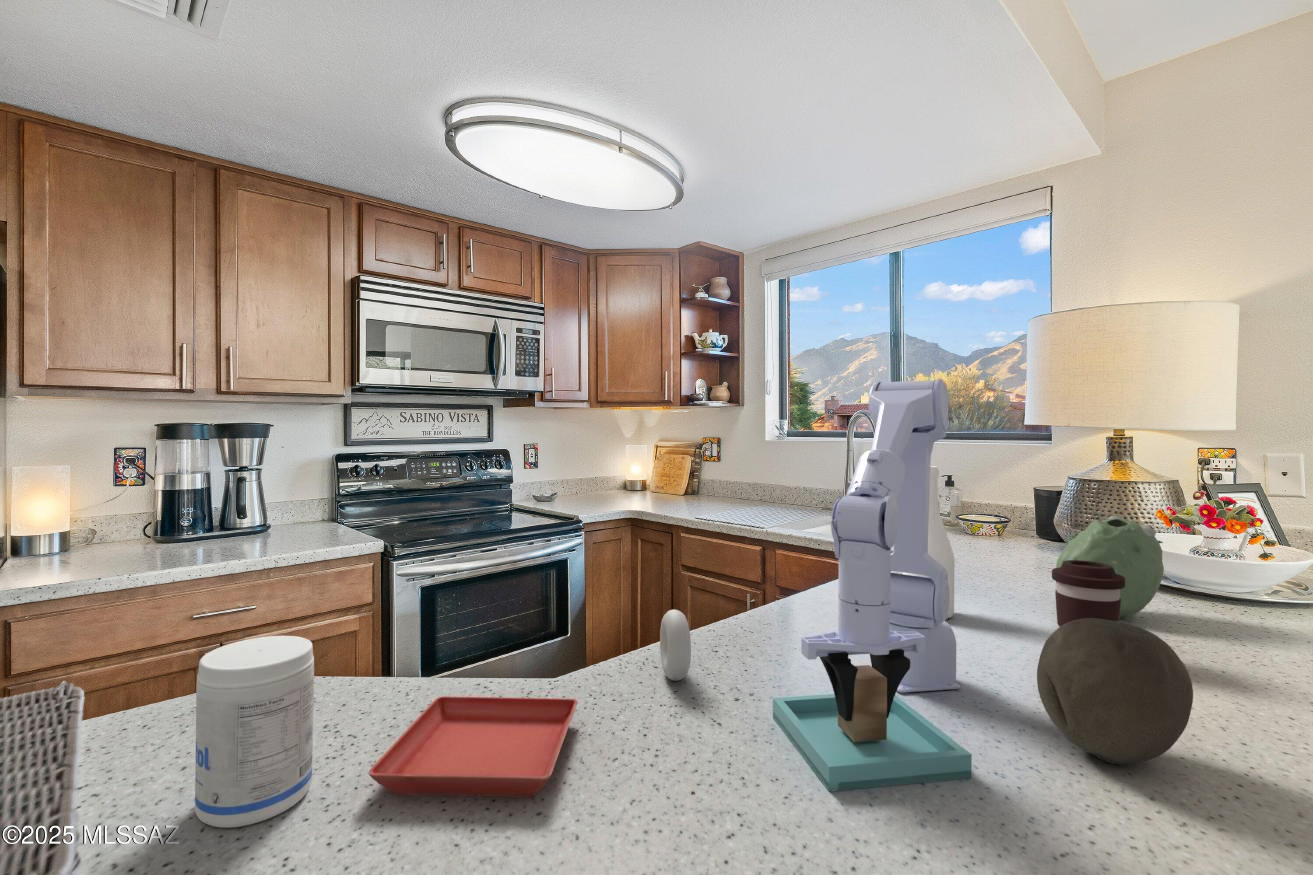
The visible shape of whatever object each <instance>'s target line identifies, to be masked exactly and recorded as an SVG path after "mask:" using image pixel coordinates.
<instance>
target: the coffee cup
mask: <svg viewBox="0 0 1313 875" xmlns="http://www.w3.org/2000/svg"><path fill="white" fill-rule="evenodd" d="M1051 579H1052V580H1054V581H1055V585H1056V589H1055V592H1054V593H1055V594H1054V595H1055V605H1056V606H1055V607H1056V622H1057V626H1058V628H1059V627H1060V626H1062V625H1064V624H1065V623H1068V622H1070V621H1073V620H1077V619H1083V618H1097V619H1105V620H1110V621H1120V618H1121V617H1120V606H1121V599H1120V589H1123V588H1124V587H1125V578H1124V577H1123V576H1121V575H1119V574H1116V573H1115V570H1114V568H1113V567H1112V566H1110V565H1108V564H1104V563H1099V562H1093V561H1084V560H1067V561H1064V562H1063V563H1062V565H1061V567H1059V568H1056V567H1055V568H1052V569H1051ZM1119 617H1120V618H1119Z"/></svg>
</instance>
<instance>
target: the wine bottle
mask: <svg viewBox="0 0 1313 875" xmlns="http://www.w3.org/2000/svg"><path fill="white" fill-rule="evenodd" d="M938 478H940V470H939V467H938V466H936V465H930V494H929V526H928V554H929V555H930V556H931V557H932V558H934V559H935V560H936V561H937V562H938V563H940V564H941V565H942V566H943V567H944V568H945V569H946V571H947V573H948V586H949V610H948V616H947V619H946V620H949V619H951V618H952V617H953V616H954V612H955V566H956V565H955V562H956V560H955V555H954V551H953V548H952V544H951V542H950V540H949V536H948V534H947V531H946V527H945V525H944V522H943V519H942V516H941V513H940V508H939V485H938V484H939V482H938ZM902 574H905V575H912V576H919V577H927V578H930V577H928V576H925V575H920V574H912V573H905V572H902ZM948 618H949V619H948Z"/></svg>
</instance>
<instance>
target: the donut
mask: <svg viewBox="0 0 1313 875" xmlns="http://www.w3.org/2000/svg"><path fill="white" fill-rule="evenodd" d="M688 622H689V621H688V619H687V618H686V615H685V613H683V612H682V611H680V610H678V609H674V608H673V609H670V610H668V611H666V613H665V614H664V615H663V617H662V618H661V623H660V630H659V650H660V661H661V666H662V670H663V673H664V674H665V676H666V677H667V678H668V679H669V680H671V681H673V682H674V681H675V682H677V681H678V682H679V681H681V680H682V679H685V677H686V676H687V675H688V674H689V670H690V667H691V662H692V660H691V657H692V641H691V631H690V627H689V623H688Z"/></svg>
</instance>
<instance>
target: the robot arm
mask: <svg viewBox="0 0 1313 875" xmlns="http://www.w3.org/2000/svg"><path fill="white" fill-rule="evenodd" d="M868 412H869V417H870V419H871V420H872V424H873V425H874V426H875V430H874V435H873V439H872V444H871V449H869V450H867V451H865V452H864V453H862V454H861V455H860V457H859V458H858V462H857V464H856V466H855V470H854V473H853V475H852V478H851V482H850V484H849V487H848V490H847V492H846V494H845V495H843V496H842V498H841V499H840V498H838V499H836V501H835V502H834V504H833V507H832V511H831V520H830V528H831V535H832V539H833V543H834V550H833V551H834V552H833V553H834V557H835V558H836V559H838V590H837V591H838V592H837V593H838V596H837V597H838V598H837V599H838V600H837V601H838V603H837V604H838V610H837V611H838V612H837V614H838V616H837V617H838V618H837V619H838V620H837V623H838V624H837V629H838V630H836V631H830V632H826V633H822V634H817V635H812V636H810V635H809V636H802V637H801V643H800V644H801V654H802V655H803V656H804V657H805V658H806V659H807V660H816V659H818V657H819V659H820V661H821V663H822V665H823V667H824V669H825V672H826V674H827V676H828V679H829V681H830V685H831V687H832V690H833V694H835V698H836V703H837V708H838V714H839V715H840V716H841V717H842V718H843V719H844V720H845V721H851V720H852V713H853V690H854V683H855V678H856V674H857V671H858V669H857V668H856V667H855V666H856V665H854V664H853V663H852V660H851V658H849V656H855V655H869V658H870V663H871V665H870V666H871V667H873V668H874V669H875V670H877V671H878V672H879V673H881V674H882V675H883V676H885V677H886V678H887V718H888V717H889V713H890V709H891V706H892V702H893V699H894V696H895V695H896V693H897V692H899V693H916V692H927V691H929V692H930V691H944V690H957V689H958V690H959V689H960V688H961V686H960V684H959V683H957V640H956V635H955V632H954V629H953V628H952V627H951V625H950V624H949V623H948V622H947V621H946V620H948V619H947V616H948V610H949V586H948V573H947V571H946V569H945V568H944V567H943V566H942V565H941V564H940V563H938V562H937V561H936V560H935V559H934V558H932V557H931V556H930V555H929V554H928V526H929V494H930V466H931V459H932V453H933V448H934V444H935V442H937V441H940V440H942V439H944V438H946V436H947V431H948V428H949V427H948V426H949V423H948V422H949V391H948V386H947V383H946V382H945V381H944V380H943V379H942V378H936V379H930V380H906V381H904V380H903V381H887V382H886V381H884V382H882V381H876V382H874V383H873V384H872V385H871V387H870V389H869V393H868ZM892 548H893V552H892V551H891V550H892ZM895 572H898V573H895ZM899 572H900V573H899ZM903 572H905V573H912V574H920V575H925V576H928V577H930V578H927V577H919V576H912V575H905V574H903Z"/></svg>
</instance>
